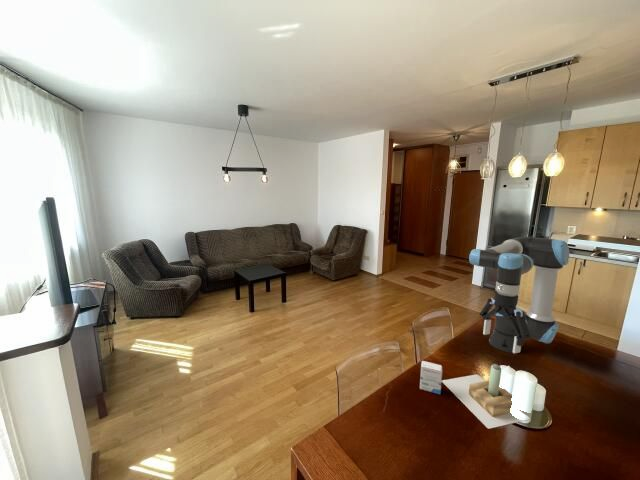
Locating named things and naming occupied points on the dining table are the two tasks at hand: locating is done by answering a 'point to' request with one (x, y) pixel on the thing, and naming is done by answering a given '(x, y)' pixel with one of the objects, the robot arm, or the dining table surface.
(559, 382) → the dining table surface
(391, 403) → the dining table surface
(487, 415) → the grey mat
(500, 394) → the wooden square holder
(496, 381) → the pale green cylinder
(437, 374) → the ink box
